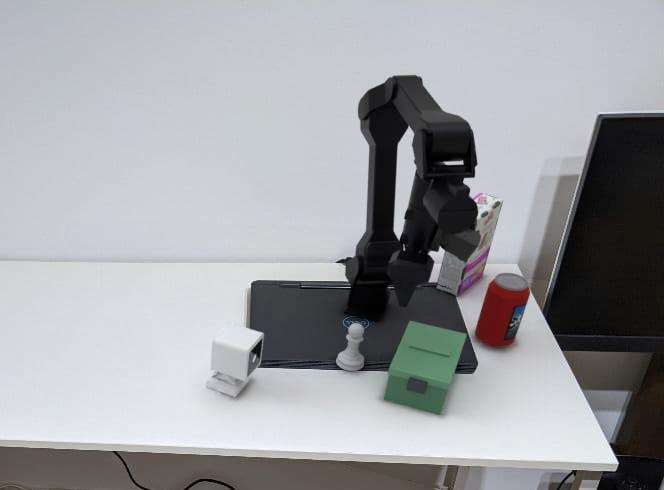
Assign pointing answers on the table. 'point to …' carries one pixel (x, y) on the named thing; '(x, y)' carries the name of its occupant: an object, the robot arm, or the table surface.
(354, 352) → the chess piece
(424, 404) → the box
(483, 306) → the beverage can
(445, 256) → the candy bar box
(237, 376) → the security camera
